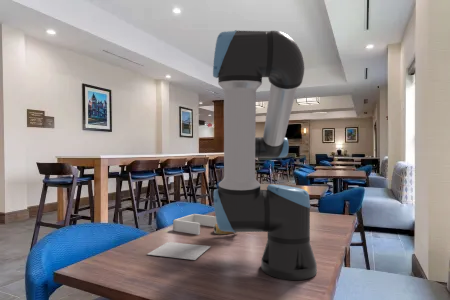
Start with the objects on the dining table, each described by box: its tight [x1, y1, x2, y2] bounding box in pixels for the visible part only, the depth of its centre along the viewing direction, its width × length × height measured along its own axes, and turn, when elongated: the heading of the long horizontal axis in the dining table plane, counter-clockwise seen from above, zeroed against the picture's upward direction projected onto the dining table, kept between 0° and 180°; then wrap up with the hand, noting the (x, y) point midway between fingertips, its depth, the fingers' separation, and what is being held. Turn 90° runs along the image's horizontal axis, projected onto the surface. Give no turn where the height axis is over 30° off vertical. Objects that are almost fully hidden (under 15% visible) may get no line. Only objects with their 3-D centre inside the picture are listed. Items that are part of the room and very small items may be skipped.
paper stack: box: [147, 241, 212, 261], centre depth 101 cm, size 23×25×1 cm
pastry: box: [213, 224, 235, 236], centre depth 121 cm, size 9×7×4 cm
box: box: [172, 213, 217, 236], centre depth 127 cm, size 15×13×4 cm
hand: (236, 230), depth 118 cm, fingers closed
